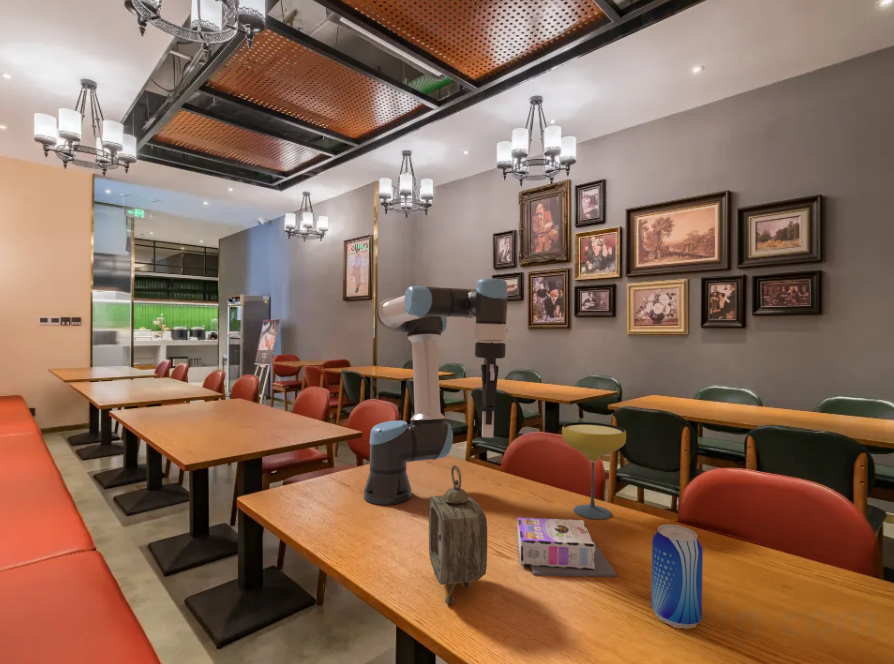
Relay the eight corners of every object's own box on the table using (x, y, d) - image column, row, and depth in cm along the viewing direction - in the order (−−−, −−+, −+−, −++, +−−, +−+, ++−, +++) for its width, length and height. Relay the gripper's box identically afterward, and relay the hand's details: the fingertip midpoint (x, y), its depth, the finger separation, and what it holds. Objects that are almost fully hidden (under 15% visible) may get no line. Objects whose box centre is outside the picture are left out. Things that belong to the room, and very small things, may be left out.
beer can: (642, 604, 89) (643, 522, 89) (683, 603, 90) (684, 521, 90) (667, 633, 81) (668, 542, 81) (712, 631, 81) (713, 541, 81)
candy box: (520, 566, 102) (595, 571, 100) (520, 540, 102) (596, 544, 100) (517, 539, 116) (584, 542, 114) (517, 515, 116) (584, 519, 114)
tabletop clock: (428, 572, 100) (429, 457, 100) (467, 568, 102) (469, 456, 102) (442, 611, 86) (444, 478, 86) (488, 606, 88) (490, 476, 88)
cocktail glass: (634, 512, 136) (635, 428, 136) (609, 531, 122) (610, 437, 122) (578, 496, 148) (579, 419, 148) (549, 512, 135) (550, 427, 135)
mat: (519, 534, 119) (519, 532, 119) (588, 535, 119) (588, 533, 119) (533, 575, 99) (533, 572, 99) (616, 576, 99) (616, 574, 99)
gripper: (509, 343, 106) (506, 444, 107) (501, 340, 119) (499, 430, 120) (477, 342, 106) (474, 443, 107) (473, 340, 119) (470, 430, 120)
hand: (487, 436), depth 113 cm, fingers closed
